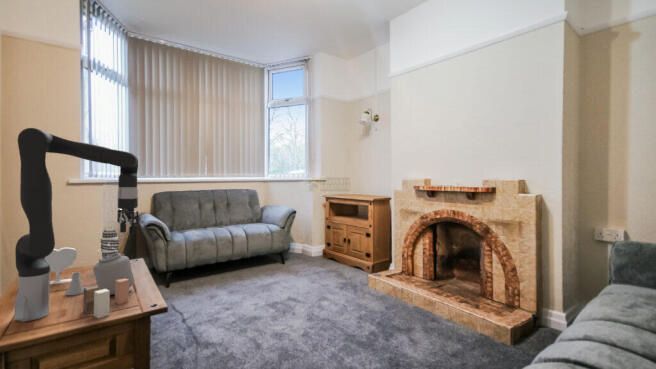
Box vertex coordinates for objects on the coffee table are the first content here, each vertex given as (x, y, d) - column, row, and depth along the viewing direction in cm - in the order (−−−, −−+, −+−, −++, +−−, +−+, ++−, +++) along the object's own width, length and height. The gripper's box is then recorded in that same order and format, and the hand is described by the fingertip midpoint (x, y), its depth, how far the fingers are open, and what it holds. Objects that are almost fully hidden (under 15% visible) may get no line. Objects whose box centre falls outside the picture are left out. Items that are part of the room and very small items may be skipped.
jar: (85, 301, 139) (86, 246, 139) (89, 291, 152) (90, 241, 152) (134, 294, 149) (135, 243, 149) (134, 285, 162) (135, 238, 162)
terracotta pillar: (128, 301, 140) (128, 279, 140) (118, 304, 137) (119, 282, 137) (124, 299, 143) (125, 278, 143) (114, 302, 139) (115, 280, 139)
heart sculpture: (37, 286, 157) (38, 251, 157) (37, 283, 161) (38, 249, 160) (76, 280, 168) (77, 247, 168) (75, 278, 171) (76, 246, 171)
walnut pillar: (98, 310, 130) (98, 287, 130) (86, 314, 126) (87, 289, 126) (94, 308, 132) (95, 285, 132) (83, 311, 129) (83, 287, 129)
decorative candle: (95, 271, 184) (96, 230, 184) (109, 267, 193) (110, 228, 193) (108, 272, 183) (109, 231, 183) (121, 268, 192) (122, 228, 192)
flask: (73, 296, 145) (74, 275, 145) (61, 295, 146) (62, 274, 146) (88, 291, 152) (89, 271, 152) (76, 290, 153) (77, 270, 153)
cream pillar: (109, 314, 126) (109, 290, 126) (97, 318, 123) (98, 293, 123) (105, 312, 128) (105, 288, 128) (93, 315, 125) (94, 291, 125)
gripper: (111, 196, 137) (110, 232, 137) (126, 198, 129) (126, 236, 129) (129, 196, 143) (129, 230, 143) (144, 197, 135) (144, 234, 136)
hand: (127, 233), depth 136 cm, fingers open, 8 cm apart
